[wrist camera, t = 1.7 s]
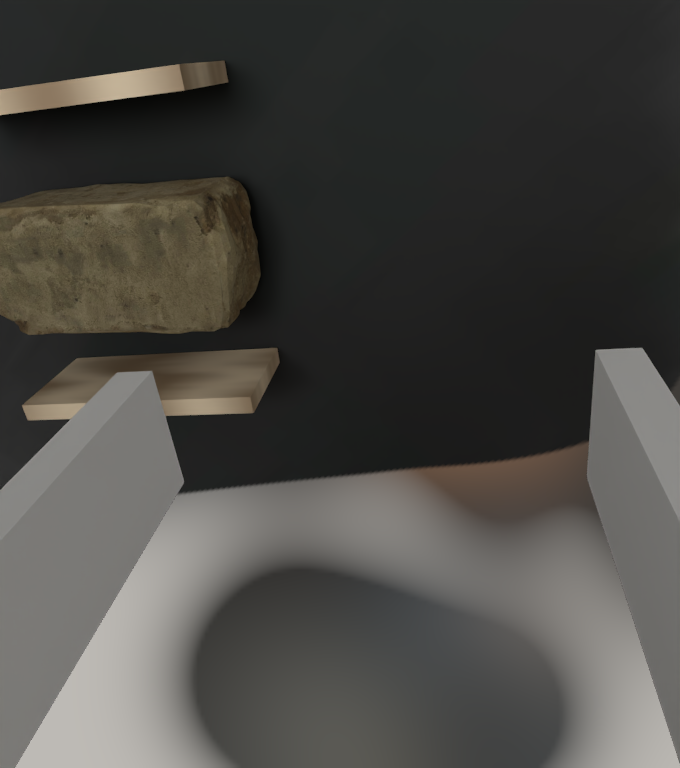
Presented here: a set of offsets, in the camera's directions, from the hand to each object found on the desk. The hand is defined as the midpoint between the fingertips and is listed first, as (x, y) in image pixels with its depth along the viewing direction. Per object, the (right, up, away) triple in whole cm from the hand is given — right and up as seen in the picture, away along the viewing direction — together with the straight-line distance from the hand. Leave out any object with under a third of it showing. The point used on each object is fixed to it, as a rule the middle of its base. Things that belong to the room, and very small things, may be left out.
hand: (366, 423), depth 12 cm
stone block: (-10, +8, +18) cm, 22 cm away
